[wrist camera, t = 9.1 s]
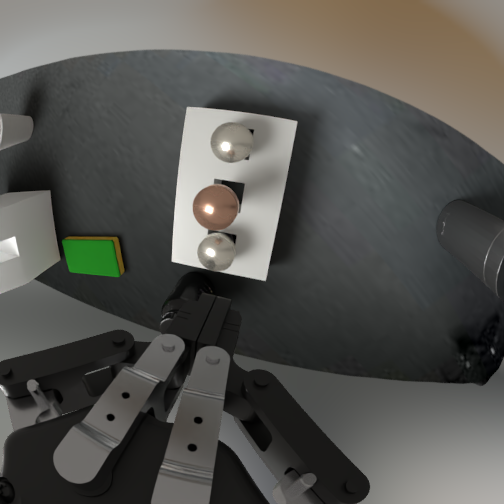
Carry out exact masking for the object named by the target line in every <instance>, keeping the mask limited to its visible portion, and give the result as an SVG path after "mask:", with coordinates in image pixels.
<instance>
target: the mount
mask: <svg viewBox="0 0 504 504" xmlns="http://www.w3.org/2000/svg"><path fill="white" fill-rule="evenodd" d="M227 122H236V123H239V124H242V125H244V126H245V127H247V128H248V129H249V130H253V131H254V133H253V140H254V144H253V149H252V151H251V153H250V157H249V158H248V157H246V158H245V159H243V160H241V161H239V162H235V163H227V162H223V161H221V160H220V159H218V158H217V157H216V156H215V155H214V153H213V152H212V149H211V145H210V141H211V136H212V134H213V132H214V131H215V129H216V128H217V127H219V126H220V125H222V124H224V123H227ZM296 127H297V121H293V120H288V119H283V118H277V117H272V116H266V115H259V114H253V113H245V112H238V111H229V110H220V109H209V108H195V107H187V111H186V118H185V124H184V131H183V138H182V146H181V153H180V162H179V171H178V180H177V190H176V201H175V214H174V229H173V247H172V262H176V263H181V264H185V265H190V266H195V267H199V268H204V269H207V268H205V267H204V266H203V265H202V264H201V262H200V261H199V259H198V255H197V250H198V246H199V244H200V243H201V242H202V240H203V239H204V238H205V237H206V236H207V235H209V234H212V233H215V231H213V230H209V229H206V228H204V227H203V226H201V225H200V224H199V223H198V222H197V220H196V219H195V217H194V214H193V201H194V198H195V196H196V195H197V194H198V193H199V192H200V191H201V190H202V189H204V188H206V187H207V186H209V185H213V184H221V182H222V180H227V181H233V182H239V183H245V187H244V193H243V199H242V204H239V212H238V215H237V216H236V218H235V220H234V221H233V223H232V224H231V225H230V226H229V227H227V228H225V229H223V230H218V231H219V232H224V233H230V234H235V235H237V237H236V244H235V247H236V255H235V258H234V260H233V263H232V264H231V266H230V267H229V268H227V269H226V270H224V271H219V272H223V273H228V274H233V275H238V276H243V277H248V278H253V279H258V280H263V281H266V277H267V272H268V267H269V263H270V258H271V253H272V248H273V244H274V239H275V234H276V229H277V224H278V219H279V215H280V210H281V205H282V200H283V195H284V190H285V185H286V179H287V174H288V169H289V164H290V159H291V153H292V148H293V143H294V138H295V132H296Z"/></svg>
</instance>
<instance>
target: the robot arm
mask: <svg viewBox="0 0 504 504" xmlns="http://www.w3.org/2000/svg"><path fill="white" fill-rule="evenodd" d="M437 237H438V240H439V242H440V244H441V245H442V247H443V248H445V249H446V250H447V251H448V252H449V253H451V254H452V255H453V256H454V257H455V258H456V259H458V260H459V261H460V262H461V263H462V264H463V265H465V266H466V267H467V268H468V269H469V270H470V271H471V272H473V273H474V274H475V275H476V276H477V277H478V278H479V279H480V280H481V281H482V282H483V283H484V284H486V285H487V286H488V287H489V288H490V289H491V290H492V291H493V292H494V293H495V294H496V295H497V296H498V297H499V298H500V299H501V300H502V301H503V302H504V221H503V220H501V219H500V218H498V217H496V216H494V215H492V214H490V213H488V212H486V211H484V210H482V209H480V208H478V207H476V206H473V205H471V204H469V203H467V202H465V201H462V200H456V201H453V202H451V203H449V204H448V205H447V206H446V207H445V208H444V209H443V211H442V213H441V214H440V217H439V219H438V224H437ZM231 301H232V300H231V299H227V298H223V297H219V296H214V295H210V294H206V293H202V294H201V296H200V298H199V300H198V301H194V300H189V301H187V302H186V303H184V304H183V305H182V307H181V308H180V310H179V312H178V313H177V315H176V317H175V318H174V320H173V321H172V323H171V325H170V326H169V328H168V330H167V331H166V333H165V334H162V335H159V336H158V337H156V338H155V339H154V340H153V341H152V342H137V341H134V338H133V336H132V335H131V334H130V333H129V332H127V331H124V330H114V331H110V332H107V333H103V334H100V335H96V336H93V337H90V338H87V339H83V340H79V341H76V342H72V343H69V344H65V345H61V346H57V347H54V348H50V349H47V350H43V351H39V352H35V353H31V354H28V355H23V356H19V357H15V358H11V359H7V360H3V361H1V362H0V388H1V389H2V391H3V393H4V395H5V396H6V398H7V404H8V409H9V413H10V418H11V422H12V426H13V429H14V432H12V433H11V434H10V435H9V436H8V438H7V439H6V441H5V444H4V447H3V464H2V469H1V473H0V504H269V502H268V501H267V500H266V498H265V497H264V495H263V494H262V493H261V491H260V490H259V488H258V487H257V485H256V484H255V482H254V481H253V479H252V478H251V476H250V475H249V473H248V471H247V470H246V468H245V467H244V465H243V464H242V462H241V461H240V459H239V458H238V456H237V455H236V454H235V452H234V451H233V450H232V449H231V448H229V447H228V446H227V445H226V444H224V443H223V442H221V441H220V440H218V438H219V431H220V425H221V418H222V412H223V411H225V412H227V413H229V414H231V415H233V416H234V420H235V422H236V423H237V424H238V426H239V428H240V429H241V431H242V432H243V434H244V435H245V437H246V438H247V440H248V441H249V443H250V444H251V445H252V447H253V448H254V450H255V451H256V452H257V454H258V455H259V457H260V458H261V459H262V461H263V462H264V463H265V465H266V466H267V467H268V469H269V470H270V471H271V473H272V474H273V475H274V476H275V478H276V479H277V480H278V483H277V484H276V485H275V486H274V488H273V497H274V499H275V501H276V503H277V504H357V503H358V502H360V501H362V500H363V499H364V498H366V496H367V495H368V493H369V490H370V484H369V480H368V479H367V477H366V476H365V475H364V474H363V473H362V472H361V471H360V470H359V469H358V468H357V467H356V466H355V465H354V464H353V463H352V462H351V461H350V460H349V459H348V458H347V457H346V456H345V455H344V454H343V453H342V452H341V450H340V449H338V447H337V446H336V445H335V444H334V443H333V442H332V441H331V440H330V439H329V438H328V437H327V436H326V434H325V433H324V432H322V430H321V429H320V428H319V427H318V426H317V425H316V423H315V422H314V421H313V420H312V419H311V418H310V417H309V416H308V414H307V413H306V412H305V411H304V410H303V409H302V408H301V406H300V405H299V404H298V403H297V402H296V401H295V400H294V398H293V397H292V396H291V395H290V394H289V393H288V391H287V390H286V389H285V388H284V387H283V385H282V384H281V383H280V382H279V381H278V379H277V378H276V377H275V376H274V375H273V374H272V373H270V372H268V371H265V370H260V369H257V370H252V371H249V372H247V371H245V370H243V369H242V368H240V367H239V366H238V365H237V364H236V363H235V362H234V360H233V355H234V351H235V347H236V343H237V339H238V334H239V330H240V325H241V320H242V318H241V315H240V312H239V311H235V310H230V307H231ZM107 366H109V368H106V369H103V370H100V371H97V372H94V373H91V374H88V375H85V374H86V373H88V372H91V371H94V370H97V369H101V368H104V367H107ZM187 375H189V376H190V378H189V382H188V385H187V388H185V389H184V391H183V394H182V397H181V401H180V404H179V407H178V411H177V414H176V418H175V421H174V423H168V422H167V418H168V416H169V414H170V412H171V410H172V408H173V406H174V404H175V402H176V400H177V399H178V396H179V395H180V393H181V391H182V388H183V386H184V382H185V379H186V377H187ZM78 409H79V410H78ZM75 410H76V411H75ZM72 411H73V412H72ZM69 412H71V413H69ZM65 413H68V414H65ZM62 414H65V415H62Z"/></svg>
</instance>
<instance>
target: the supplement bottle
mask: <svg viewBox="0 0 504 504" xmlns="http://www.w3.org/2000/svg"><path fill="white" fill-rule="evenodd" d="M202 293H206V294H210V295H214V296H215V289H214V286H213V284H212V282H211V281H210V280H209V279H208V278H207V277H206V276H204V275H202V274H199V273H188V274H186V275H184V276H182V277H181V278H180V280H179V281H178V283H177V284H176V286H175V287H174V289H173V290H172V292H171V293H170V295H169V296H168V298H167V299H166V301H165V302H164V304H163V307H162V321H161V323H160V326H159V327H160V332H161V333H162V334H165V333H166V331H167V330H168V328H169V326H170V325H171V323H172V321H173V320H174V318H175V317H176V315H177V313H178V312H179V310H180V308H181V307H182V305H183V304H184V303H186V302H187V301H189V300H194V301H198V300H199V298H200V296H201V294H202Z"/></svg>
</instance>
